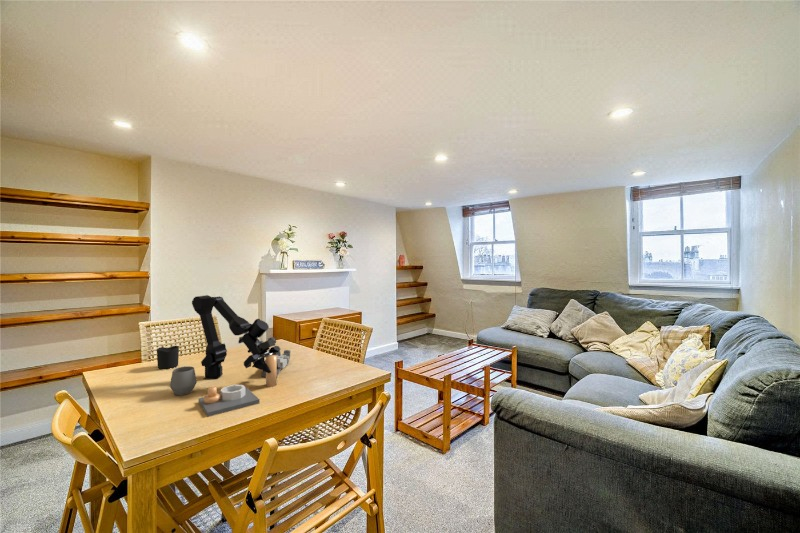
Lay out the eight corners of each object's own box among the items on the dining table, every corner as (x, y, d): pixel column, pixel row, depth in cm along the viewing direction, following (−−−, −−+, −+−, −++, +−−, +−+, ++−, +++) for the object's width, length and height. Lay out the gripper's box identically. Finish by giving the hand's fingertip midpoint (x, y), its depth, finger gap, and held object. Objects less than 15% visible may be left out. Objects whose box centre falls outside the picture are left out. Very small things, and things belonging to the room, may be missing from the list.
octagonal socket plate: (198, 402, 134) (198, 385, 134) (246, 390, 146) (246, 375, 146) (207, 416, 122) (207, 398, 122) (259, 403, 134) (259, 386, 134)
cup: (172, 390, 146) (172, 367, 146) (198, 387, 149) (198, 364, 149) (167, 398, 137) (167, 374, 137) (194, 395, 141) (194, 371, 140)
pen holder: (167, 363, 181) (167, 345, 181) (183, 364, 180) (183, 346, 180) (152, 369, 172) (152, 349, 172) (168, 370, 171) (168, 350, 171)
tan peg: (264, 387, 151) (264, 357, 150) (267, 383, 155) (267, 355, 155) (275, 386, 151) (275, 357, 151) (277, 383, 155) (277, 354, 155)
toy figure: (292, 348, 195) (282, 362, 165) (292, 360, 195) (282, 376, 165) (272, 348, 193) (257, 362, 163) (271, 360, 193) (257, 377, 163)
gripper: (249, 337, 145) (271, 365, 142) (277, 328, 163) (297, 353, 160) (234, 353, 147) (255, 382, 144) (263, 343, 165) (282, 368, 162)
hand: (273, 370), depth 152 cm, fingers open, 5 cm apart
